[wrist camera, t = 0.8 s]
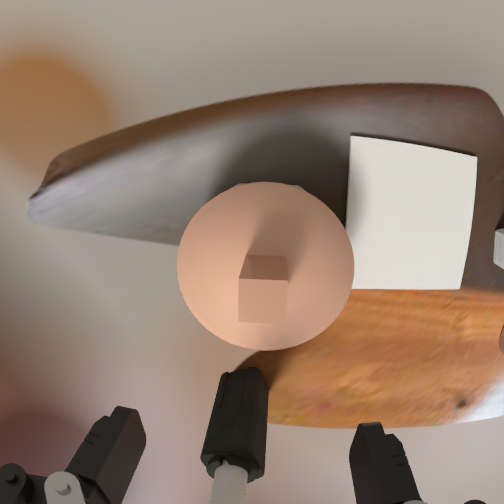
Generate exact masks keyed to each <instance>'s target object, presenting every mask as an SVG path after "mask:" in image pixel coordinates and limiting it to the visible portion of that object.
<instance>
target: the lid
mask: <svg viewBox="0 0 504 504" xmlns="http://www.w3.org/2000/svg"><path fill="white" fill-rule="evenodd" d="M354 267H355V266H354V255H353V250H352V246H351V242H350V240H349V237H348V234H347V232H346V230H345V229H344V227H343V225H342V223H341V222H340V220H339V219H338V218H337V216H336V215H335V214H334V213H333V212H332V211H331V210H330V209H329V208H328V207H327V206H326V205H325V204H324V203H323V202H321V201H320V200H319V199H318V198H316V197H315V196H313V195H311V194H310V193H308V192H306V191H304V190H302V189H299V188H297V187H294V186H291V185H287V184H283V183H276V182H254V183H248V184H243V185H240V186H237V187H233V188H231V189H229V190H227V191H225V192H223V193H221V194H219V195H217V196H216V197H214V198H213V199H211V200H210V201H209V202H207V203H206V204H205V205H204V206H203V207H202V208H201V209H200V210H199V211H198V212H197V213H196V214H195V216H194V217H193V218H192V220H191V221H190V223H189V224H188V226H187V228H186V230H185V232H184V234H183V236H182V239H181V242H180V246H179V250H178V257H177V274H178V281H179V285H180V289H181V292H182V295H183V297H184V300H185V301H186V304H187V305H188V307H189V309H190V310H191V312H192V313H193V315H194V316H195V317H196V318H197V320H198V321H199V322H200V323H201V324H202V325H203V326H204V327H205V328H207V329H208V330H209V331H210V332H212V333H213V334H214V335H216V336H218V337H219V338H221V339H223V340H225V341H227V342H229V343H231V344H234V345H237V346H240V347H243V348H248V349H253V350H279V349H285V348H290V347H294V346H296V345H299V344H302V343H304V342H306V341H308V340H310V339H312V338H314V337H315V336H317V335H318V334H320V333H321V332H322V331H324V330H325V329H326V328H327V327H328V326H329V325H330V324H331V323H332V322H333V321H334V320H335V319H336V318H337V316H338V315H339V314H340V312H341V311H342V309H343V308H344V306H345V304H346V302H347V300H348V297H349V294H350V292H351V289H352V284H353V279H354Z"/></svg>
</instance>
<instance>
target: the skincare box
mask: <svg viewBox="0 0 504 504" xmlns="http://www.w3.org/2000/svg"><path fill="white" fill-rule="evenodd" d="M493 262H494V263H495V264H497V265H498V266H500V267H501V268H503V269H504V228H502V229H498V230H496V231H495V241H494V257H493Z"/></svg>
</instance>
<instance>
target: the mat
mask: <svg viewBox="0 0 504 504" xmlns="http://www.w3.org/2000/svg"><path fill="white" fill-rule="evenodd" d="M476 171H477V157H474V156H469V155H465V154H461V153H456V152H451V151H447V150H442V149H437V148H431V147H426V146H420V145H415V144H409V143H402V142H396V141H389V140H382V139H374V138H366V137H357V136H350V151H349V176H348V195H347V209H346V223H345V230H346V232H347V234H348V237H349V240H350V242H351V246H352V250H353V255H354V266H355V267H354V279H353V284H352V289H460V285H461V280H462V276H463V271H464V266H465V261H466V256H467V250H468V244H469V238H470V231H471V224H472V217H473V208H474V198H475V186H476Z"/></svg>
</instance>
